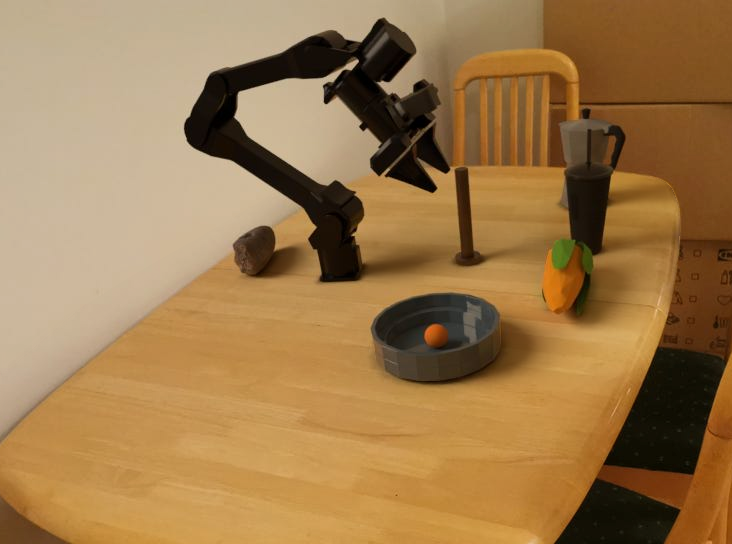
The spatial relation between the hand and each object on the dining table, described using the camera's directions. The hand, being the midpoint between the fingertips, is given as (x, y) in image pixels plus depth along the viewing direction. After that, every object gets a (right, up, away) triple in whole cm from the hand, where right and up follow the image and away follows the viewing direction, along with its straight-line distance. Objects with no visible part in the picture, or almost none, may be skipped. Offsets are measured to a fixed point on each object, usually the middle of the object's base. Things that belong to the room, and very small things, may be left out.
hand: (442, 181), depth 107 cm
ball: (-2, -24, -13) cm, 28 cm away
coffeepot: (+31, +3, +29) cm, 42 cm away
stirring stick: (+5, -11, +12) cm, 17 cm away
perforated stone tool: (-32, -10, +23) cm, 41 cm away
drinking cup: (+25, -9, +10) cm, 29 cm away
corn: (+18, -19, -4) cm, 27 cm away
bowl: (-1, -26, -12) cm, 29 cm away
